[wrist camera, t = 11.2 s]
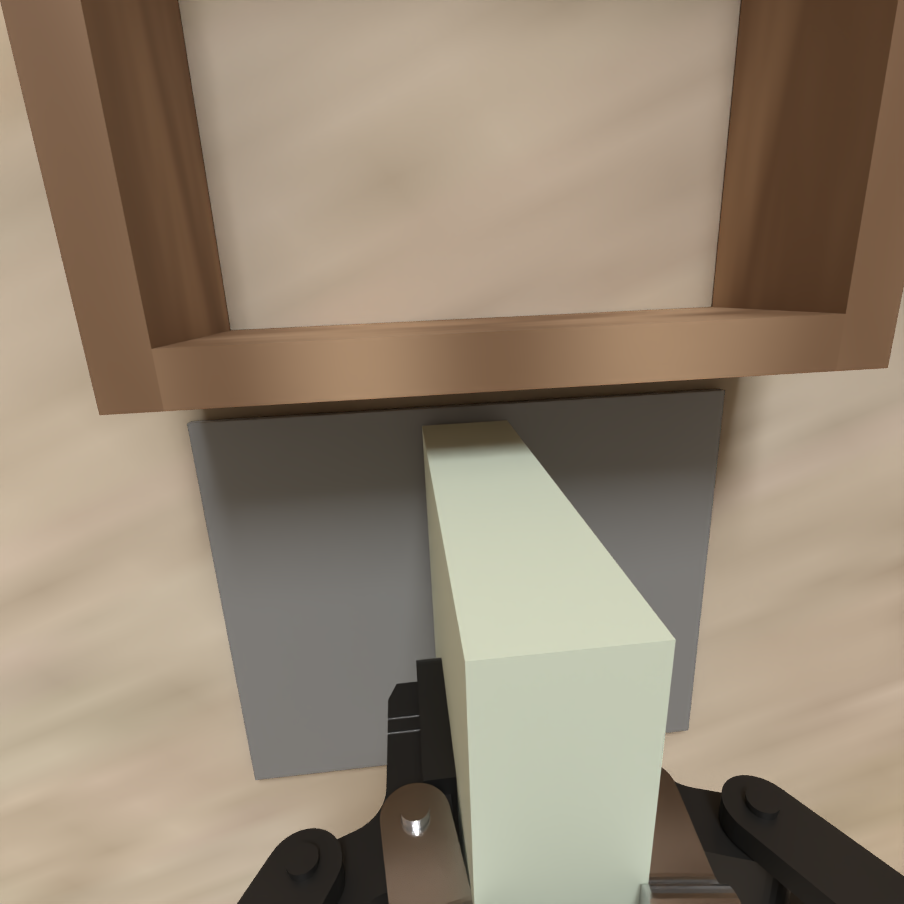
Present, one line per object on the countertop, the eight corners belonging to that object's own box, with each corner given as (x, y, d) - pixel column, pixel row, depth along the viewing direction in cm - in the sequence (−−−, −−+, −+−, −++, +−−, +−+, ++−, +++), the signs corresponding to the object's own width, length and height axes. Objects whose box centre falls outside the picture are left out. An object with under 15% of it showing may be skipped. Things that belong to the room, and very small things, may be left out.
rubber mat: (719, 389, 17) (724, 390, 16) (684, 724, 21) (688, 730, 20) (191, 421, 15) (187, 423, 15) (257, 772, 19) (255, 779, 19)
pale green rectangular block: (507, 420, 16) (676, 639, 6) (508, 715, 19) (619, 1141, 10) (422, 425, 16) (465, 661, 6) (439, 723, 19) (484, 1165, 10)
